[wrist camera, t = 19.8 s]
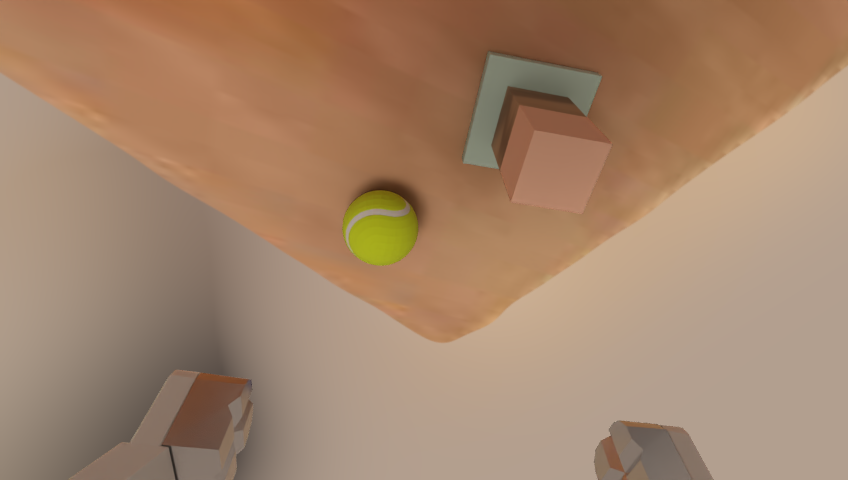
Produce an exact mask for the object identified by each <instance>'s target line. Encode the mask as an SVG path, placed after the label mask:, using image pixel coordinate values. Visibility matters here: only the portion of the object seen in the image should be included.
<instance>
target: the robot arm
mask: <svg viewBox="0 0 848 480" xmlns="http://www.w3.org/2000/svg"><path fill="white" fill-rule="evenodd" d="M251 392H252V381H251V380H250V379H243V378H236V377H229V376H220V375H214V374H206V373H200V372H191V371H183V370H175V371H174V372H173V373H172V374H171V375H170V376H169V377H168V378H167V380H166V382H165V384H164V385H163V387H162V389H161V390H160V392H159V394H158V396H157V397H156V399H155V401H154V402H153V404H152V406H151V408H150V409H149V411H148V413H147V414H146V416H145V418H144V419H143V421H142V423H141V425H140V426H139V428H138V430H137V431H136V433H135V435H134V436H133V438H132V440H131V442H130V443H123V442H121V443H120V444H119V445H117V446H116V447H114V448H113V449H111V450H110V451H109V452H107V453H106V454H104V455H103V456H101V457H100V458H98V459H97V460H96V461H94V462H93V463H91V464H90V465H88V466H87V467H86V468H84V469H83V470H81V471H80V472H78V473H77V474H75V475H74V476H72V477H71V478H70V479H68V480H233V478H234V475H235V473H236V469H237V465H236V455H237V454H238V453H239V452H240V451H241V450H242V449H244V446H245V444H246V441H247V438H248V435H249V431H250V427H251V422H252V415H253V403H252V402H251V401H250V400H249V397H250V395H251ZM609 432H610V434H611V436H609V437H607V438H605V439H603V440H602V441H601V442H600V443H599V445H598V446H597V448H596V450H595V459H594V463H595V471H596V474H597V478H598V480H713V478H712V476H711V474H710V473H709V471H708V469H707V467H706V465H705V463H704V462H703V460H702V458H701V456H700V454H699V452H698V451H697V449H696V447H695V445H694V443H693V441H692V440H691V438H690V436H689V434H688V433H687V432H686V431H685V430H684V429H683V428H680V427H673V426H662V425H658V424H650V423H639V422H629V421H617V422H614V423H613V424H612V425H611V427H610V428H609Z"/></svg>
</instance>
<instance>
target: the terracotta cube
mask: <svg viewBox="0 0 848 480" xmlns="http://www.w3.org/2000/svg"><path fill="white" fill-rule="evenodd" d="M612 145H613V144H612V143H611V142H610V141H609V139H608V138H607V137H606V136H605V135H604V134H603V133H602V132H601V131H600V130H599V129H598V128H597V127H596V126H595V125H594V124H593V122H592V121H591V120H590V119H589V118H588V117H583V116H577V115H572V114H566V113H561V112H555V111H550V110H545V109H539V108H534V107H528V106H523V105H519V108H518V111H517V115H516V118H515V121H514V125H513V128H512V131H511V135H510V138H509V141H508V145H507V148H506V151H505V155H504V158H503V161H502V165H501V168H500V172H501V175H502V178H503V181H504V184H505V187H506V190H507V193H508V196H509V199H510V201H511V202H512V203H518V204H524V205H530V206H537V207H543V208H549V209H555V210H561V211H568V212H574V213H580V214H583V212H584V210H585V207H586V205H587V203H588V200H589V198H590V196H591V194H592V191H593V189H594V187H595V184H596V182H597V180H598V177H599V175H600V173H601V171H602V168H603V166H604V164H605V161H606V159H607V157H608V154H609V152H610V150H611V148H612Z"/></svg>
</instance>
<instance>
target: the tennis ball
mask: <svg viewBox="0 0 848 480" xmlns="http://www.w3.org/2000/svg"><path fill="white" fill-rule="evenodd" d="M342 230H343V236H344V240H345V242H346V245H347V246H348V248H349V250H350V251H351V252H352V253H353V254H354V255H355V256H356V257H358V258H359V259H360V260H362V261H364V262H366V263H369V264H372V265H382V266H383V265H390V264H393V263H395V262H398V261H400V260H401V259H402V258H404V257H405V256H406V255H407V254H408V253H409V252H410V251H411V249H412V248H413V246H414V244H415V242H416V239H417V234H418V221H417V217H416V214H415V212H414V210H413V208H412V206H411V205H410V204H409V203H408V202H407V201H406V200H405V199H403V198H402V197H401V196H399V195H398V194H396V193H393V192H390V191H384V190H376V191H371V192H367V193H365V194H363V195H361V196H360V197H358V198H357V199H355V200H354V201H353V202H352V203H351V204H350V206H349V208H348V209H347V211H346V213H345V216H344V219H343V229H342Z"/></svg>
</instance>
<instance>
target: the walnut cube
mask: <svg viewBox="0 0 848 480" xmlns="http://www.w3.org/2000/svg"><path fill="white" fill-rule="evenodd" d="M519 105H523V106H528V107H534V108H539V109H545V110H550V111H555V112H561V113H566V114H572V115H577V116H583V117H586V116H585V115H584V114H583V113H582V111H581V110H580V109H579V108H578V107H577V106H576V105H575V104H574V103H573V102H572V101H571V100H570V99H569V98H568V97H564V96H558V95H553V94H548V93H542V92H537V91H532V90H526V89H521V88H516V87H511V86H508V87H507V90H506V94H505V98H504V101H503V105H502V108H501V112H500V115H499V119H498V123H497V126H496V130H495V133H494V137H493V141H492V144H491V147H492V149H493V152H494V155H495V158H496V161H497V164H498V167H499V170H500V168H501V165H502V161H503V158H504V155H505V151H506V148H507V145H508V141H509V138H510V135H511V131H512V128H513V125H514V121H515V118H516V115H517V111H518V108H519Z"/></svg>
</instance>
